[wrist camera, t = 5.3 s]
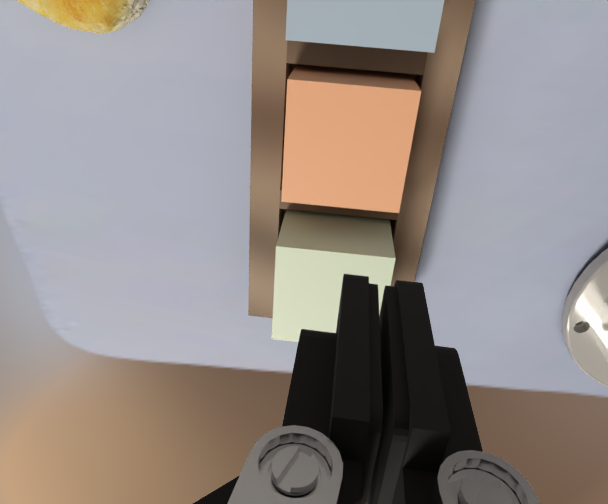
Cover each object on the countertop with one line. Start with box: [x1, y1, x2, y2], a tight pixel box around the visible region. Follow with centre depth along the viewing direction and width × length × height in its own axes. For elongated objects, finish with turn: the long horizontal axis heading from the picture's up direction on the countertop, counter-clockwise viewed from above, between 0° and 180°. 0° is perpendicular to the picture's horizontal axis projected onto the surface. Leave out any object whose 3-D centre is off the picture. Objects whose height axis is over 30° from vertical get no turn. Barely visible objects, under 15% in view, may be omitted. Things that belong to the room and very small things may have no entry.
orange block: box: [281, 64, 421, 213], centre depth 23 cm, size 5×5×4 cm
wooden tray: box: [249, 0, 475, 318], centre depth 24 cm, size 22×9×3 cm, turn 176°
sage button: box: [272, 210, 396, 342], centre depth 25 cm, size 5×5×4 cm
